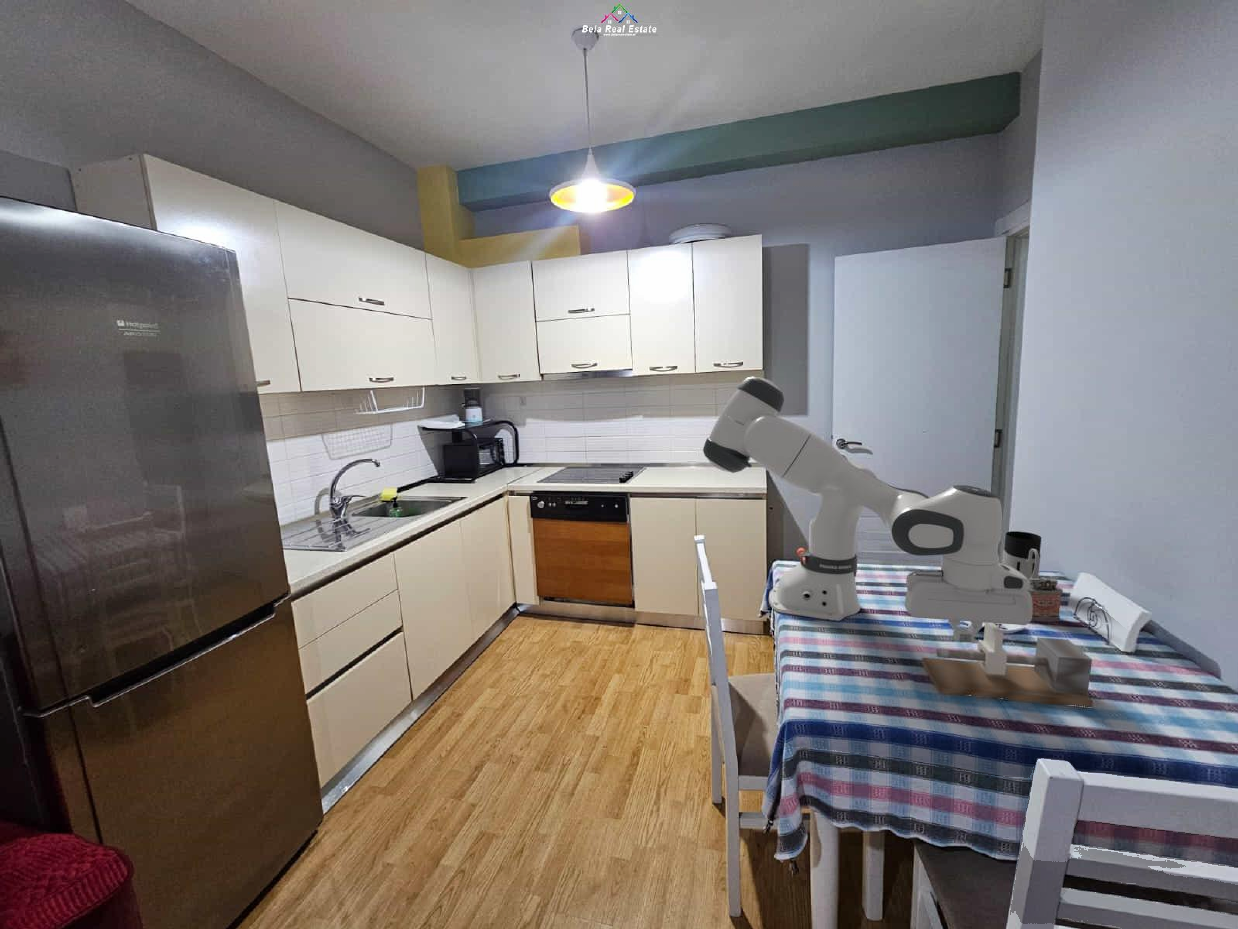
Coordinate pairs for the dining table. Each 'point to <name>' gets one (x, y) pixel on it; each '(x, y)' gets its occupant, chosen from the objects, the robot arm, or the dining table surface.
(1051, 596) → the lighter
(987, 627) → the white stepped block
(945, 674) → the rod board
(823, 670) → the dining table surface
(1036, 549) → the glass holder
